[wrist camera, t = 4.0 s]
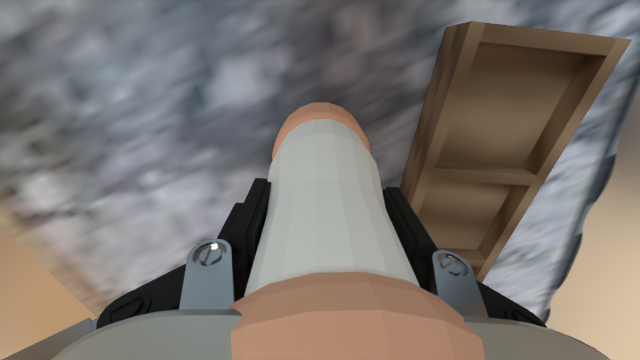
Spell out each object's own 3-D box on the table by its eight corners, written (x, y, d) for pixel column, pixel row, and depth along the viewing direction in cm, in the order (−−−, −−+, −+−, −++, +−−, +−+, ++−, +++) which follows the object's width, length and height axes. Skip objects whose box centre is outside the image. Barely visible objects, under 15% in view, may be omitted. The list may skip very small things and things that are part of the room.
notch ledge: (446, 27, 17) (471, 21, 14) (583, 43, 17) (631, 39, 15) (368, 297, 31) (373, 319, 28) (445, 300, 32) (457, 322, 29)
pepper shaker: (289, 187, 21) (199, 664, 5) (268, 110, 18) (-390, 918, 1) (365, 175, 21) (567, 655, 4) (359, 94, 17) (1393, 1027, 1)
